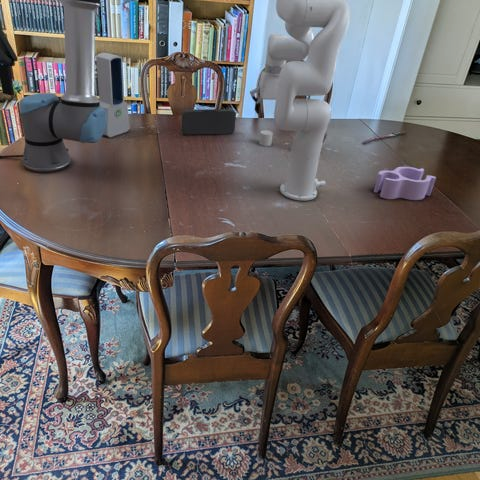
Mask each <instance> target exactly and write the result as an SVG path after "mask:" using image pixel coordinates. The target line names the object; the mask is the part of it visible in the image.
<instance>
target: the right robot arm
mask: <svg viewBox="0 0 480 480" xmlns="http://www.w3.org/2000/svg"><path fill="white" fill-rule="evenodd" d="M275 9H276V10H275V11H276V14H277V16H278V17H279V18H280V19H281V20H282V21H284V29H285V31H286V33H287V34H288V35H289V36H290V38H289V37H288V36H287V35H286V34H282V33H271V34H270V35H269V36H268V38H267V47H266V48H267V49H266V55H265V64H264V70H263V71H261V74H260V78H259V82H258V87H256V88H254V89H252V90H250V91H249V93H250V96H251V99H252V100H253V102H254V103H255V104H254V111H255V113H256V114H257V115H259V114H260V111H261V102H262V101H263V100H266V101H267V100H271V101H275V105H274V113H273V121H274V125H275V127H276V128H277V130H280V131H287V132H288V131H289V132H292V131H293V132H297V133H296V134H295V136H294V137H293V140H292V142H291V147H290V153H289V154H290V155H289V160H288V165H287V173H286V180H285V182H283V183H282V184H281V185H280V188H279V191H280V193H281V194H282V195H283V196H284V197H287V198H288V199H290V200H294V201H301V202H302V201H306V202H307V201H311V200H313V199H315V198H317V195H318V190H317V189H318V188H319V187H325V186H326V185H327V184H326V181H325V180H324V179H322V180H319V178H316V177H317V173H318V172H317V171H318V168H319V162H320V157H321V153H322V147H323V144H324V142H323V139H324V135H325V132H326V130H328V127H329V124H330V121H331V119H332V109H331V105H330V103H328V102H326V101H325V100H323V99H317V98H310V99H307V98H301V99H300V98H296V97H298V96H301V95H302V97H308V96H310V97H321V96H325V95H327V94H329V92H330V91H331V88H332V85H333V81H334V77H335V72H336V67H337V61H338V56H339V52H340V51H339V50H340V47H341V44H342V42H343V40H344V38H345V35H346V34H347V31H348V27H349V24H350V19H351V7H350V4H349V2H348V1H347V0H276V3H275ZM312 28H321V30H319V32H317V34H315V35H314V33H313V29H312ZM305 59H306V60H305ZM286 61H287V62H286ZM256 94H257V97H256Z"/></svg>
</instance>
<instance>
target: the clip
mask: <svg viewBox="0 0 480 480" xmlns="http://www.w3.org/2000/svg"><path fill="white" fill-rule="evenodd" d="M424 172H425V169H424V168H423V167H421V168H416V167H411V166H398V167H396V168H394V169H393V170H385V169H384V170H380V171H378V175H377V179H376V182H375V186H374V190H373V192H374V193H379V191H380V194H379V198H383V199H386V200H396V199H405V200H409V201H420V200H423V199H424V198H425V197H426V196H427V197H430V196H431V194H432V191H433V188H434V185H435V182H436V179H437V177H436V176H434V175H429V174H428V175H426V176H425V179H422V178H423V175H424Z"/></svg>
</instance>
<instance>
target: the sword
mask: <svg viewBox="0 0 480 480" xmlns="http://www.w3.org/2000/svg"><path fill="white" fill-rule="evenodd" d="M406 134H408V132H407V133H403V134H401V133H400V132H392V133H389V134H387V135H381V136H378V137H373V138H370V139H366V140H365V141H363V145H365V144H367V143H370V142H374V141H378V140H381V139H386V138H391V137H397V136H399V135H406Z"/></svg>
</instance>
